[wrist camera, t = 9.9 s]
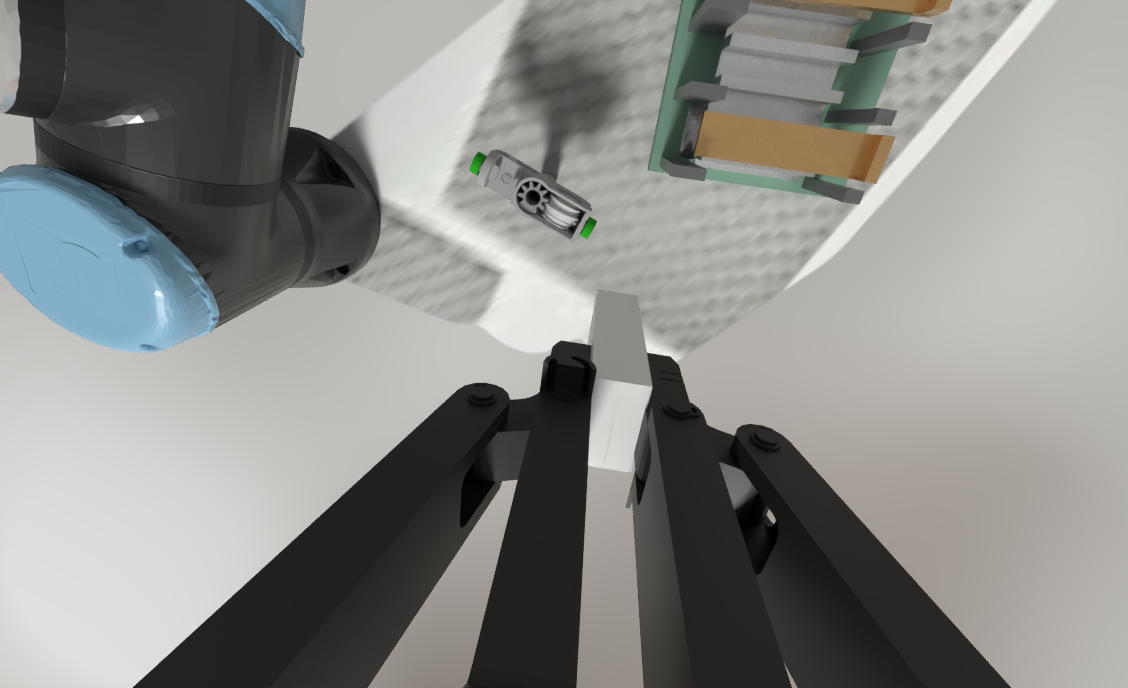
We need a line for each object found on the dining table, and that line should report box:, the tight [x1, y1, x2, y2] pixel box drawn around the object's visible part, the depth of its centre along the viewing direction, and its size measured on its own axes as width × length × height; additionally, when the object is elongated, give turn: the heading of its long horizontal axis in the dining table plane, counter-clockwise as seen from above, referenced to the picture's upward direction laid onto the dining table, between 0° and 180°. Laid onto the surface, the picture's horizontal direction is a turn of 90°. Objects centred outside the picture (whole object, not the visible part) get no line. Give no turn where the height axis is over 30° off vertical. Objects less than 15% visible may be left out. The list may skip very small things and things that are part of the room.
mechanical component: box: [470, 150, 597, 242], centre depth 39 cm, size 3×10×10 cm, turn 61°
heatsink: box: [692, 0, 873, 182], centre depth 35 cm, size 9×15×4 cm, turn 173°
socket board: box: [648, 0, 910, 198], centre depth 38 cm, size 17×17×2 cm
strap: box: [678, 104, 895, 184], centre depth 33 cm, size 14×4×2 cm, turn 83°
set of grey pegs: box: [659, 0, 932, 204], centre depth 33 cm, size 14×16×8 cm
